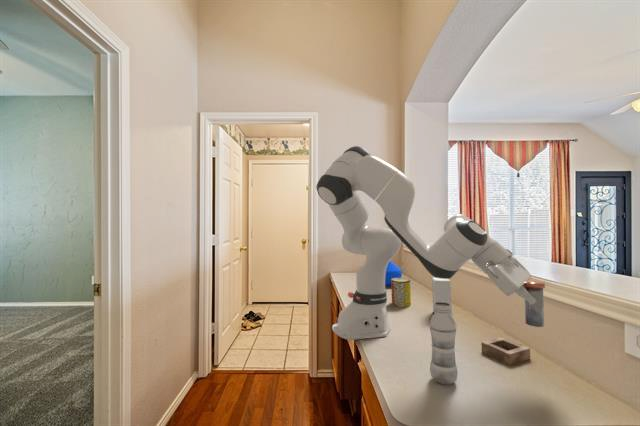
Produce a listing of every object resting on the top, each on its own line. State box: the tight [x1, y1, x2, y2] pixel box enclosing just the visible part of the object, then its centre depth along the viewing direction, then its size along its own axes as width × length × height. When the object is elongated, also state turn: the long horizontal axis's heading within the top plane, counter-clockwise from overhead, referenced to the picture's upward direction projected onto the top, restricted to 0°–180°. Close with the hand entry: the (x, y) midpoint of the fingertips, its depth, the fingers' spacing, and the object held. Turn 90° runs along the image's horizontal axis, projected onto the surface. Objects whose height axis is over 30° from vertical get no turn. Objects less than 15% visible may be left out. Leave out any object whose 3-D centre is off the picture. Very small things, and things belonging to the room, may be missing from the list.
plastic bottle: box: [429, 302, 459, 386], centre depth 75 cm, size 6×7×20 cm
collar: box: [481, 336, 531, 366], centre depth 89 cm, size 9×9×3 cm
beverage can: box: [390, 277, 412, 308], centre depth 142 cm, size 9×9×12 cm
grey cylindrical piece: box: [523, 280, 546, 328], centre depth 77 cm, size 5×5×11 cm
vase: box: [385, 260, 403, 287], centre depth 185 cm, size 18×18×19 cm
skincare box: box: [431, 277, 453, 317], centre depth 126 cm, size 8×7×16 cm
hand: (536, 300), depth 76 cm, fingers closed on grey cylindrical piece, 4 cm apart
